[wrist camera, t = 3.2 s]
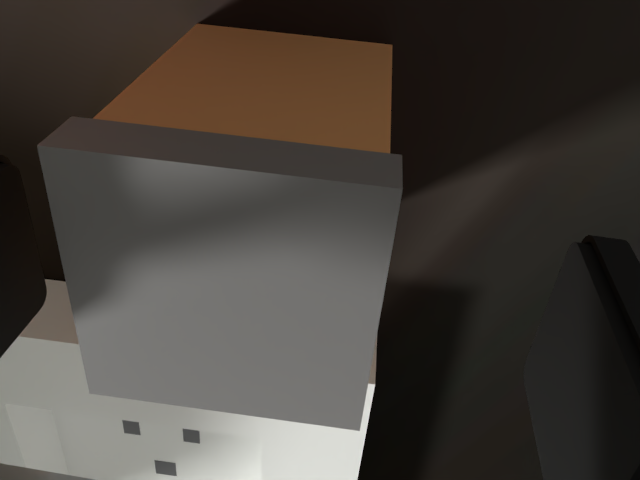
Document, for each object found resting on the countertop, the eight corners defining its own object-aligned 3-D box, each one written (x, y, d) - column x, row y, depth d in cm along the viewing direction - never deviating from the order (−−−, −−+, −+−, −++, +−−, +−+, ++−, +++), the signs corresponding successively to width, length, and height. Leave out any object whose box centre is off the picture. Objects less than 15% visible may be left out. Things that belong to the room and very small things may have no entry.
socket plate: (-66, 264, 19) (-140, 331, 16) (377, 322, 18) (374, 401, 15) (25, 514, 26) (-15, 586, 24) (335, 561, 26) (329, 640, 23)
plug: (190, 16, 14) (37, 145, 8) (400, 38, 13) (402, 188, 8) (199, 197, 16) (89, 393, 10) (372, 218, 16) (359, 430, 10)
